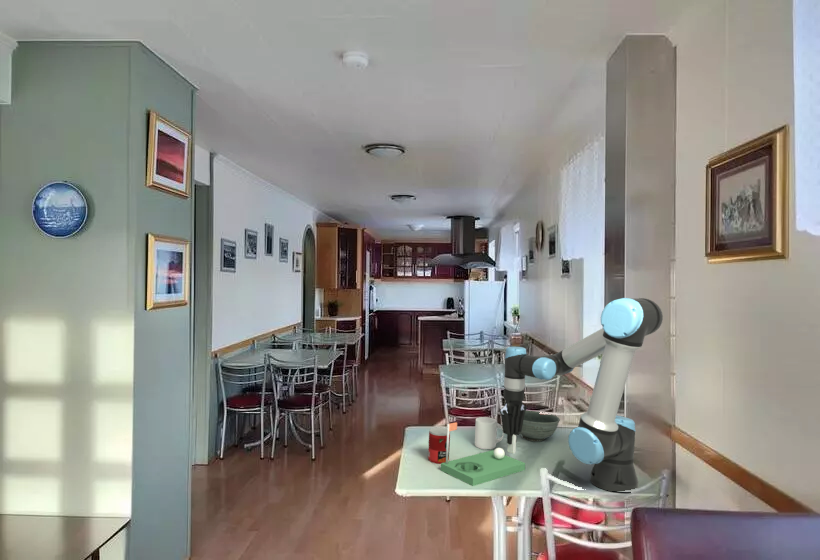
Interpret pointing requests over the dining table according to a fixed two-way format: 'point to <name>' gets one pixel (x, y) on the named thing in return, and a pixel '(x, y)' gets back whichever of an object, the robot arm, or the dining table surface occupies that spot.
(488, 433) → the mug
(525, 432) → the bowl
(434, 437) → the canned food
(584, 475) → the dining table surface
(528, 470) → the dining table surface
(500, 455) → the ball
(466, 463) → the putting mat
